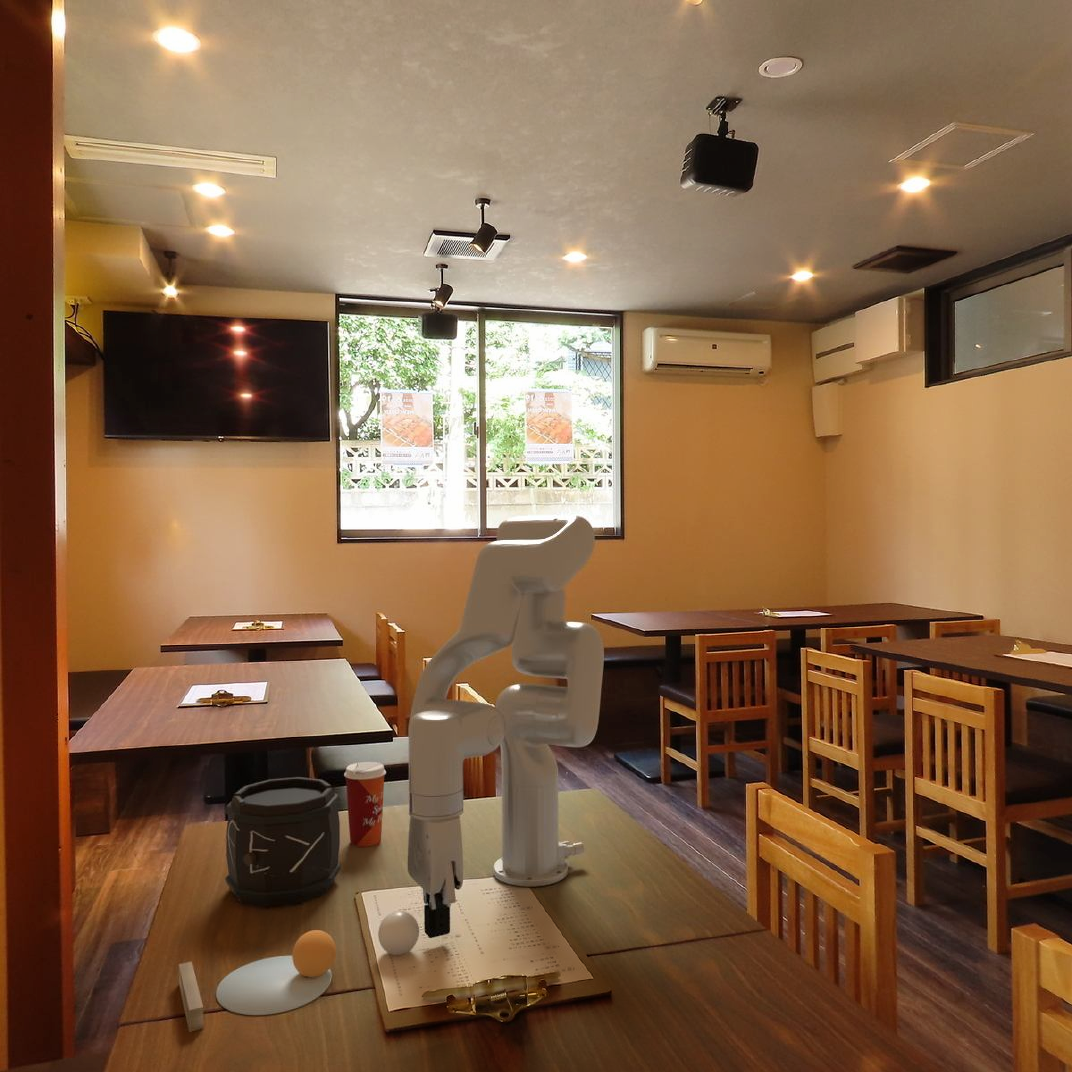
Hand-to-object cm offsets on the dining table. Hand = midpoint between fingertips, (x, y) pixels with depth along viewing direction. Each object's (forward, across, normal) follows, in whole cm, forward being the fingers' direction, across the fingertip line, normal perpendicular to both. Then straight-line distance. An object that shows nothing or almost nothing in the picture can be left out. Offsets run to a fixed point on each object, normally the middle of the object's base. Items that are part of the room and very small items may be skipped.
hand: (437, 933), depth 119 cm
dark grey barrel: (+2, -30, -15) cm, 34 cm away
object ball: (-1, 0, -17) cm, 17 cm away
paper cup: (+2, -44, +3) cm, 44 cm away
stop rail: (+2, 0, -32) cm, 32 cm away
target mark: (+2, 0, -22) cm, 22 cm away
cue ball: (-1, 0, -6) cm, 6 cm away
